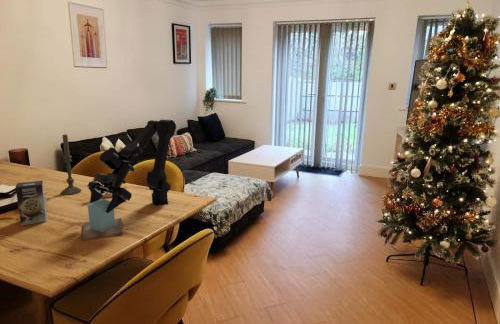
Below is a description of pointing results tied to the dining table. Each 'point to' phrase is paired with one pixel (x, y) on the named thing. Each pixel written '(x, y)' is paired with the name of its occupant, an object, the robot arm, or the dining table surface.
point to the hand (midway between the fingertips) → (98, 210)
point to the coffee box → (31, 202)
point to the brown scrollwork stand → (106, 194)
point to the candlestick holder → (70, 180)
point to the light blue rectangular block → (100, 216)
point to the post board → (112, 231)
